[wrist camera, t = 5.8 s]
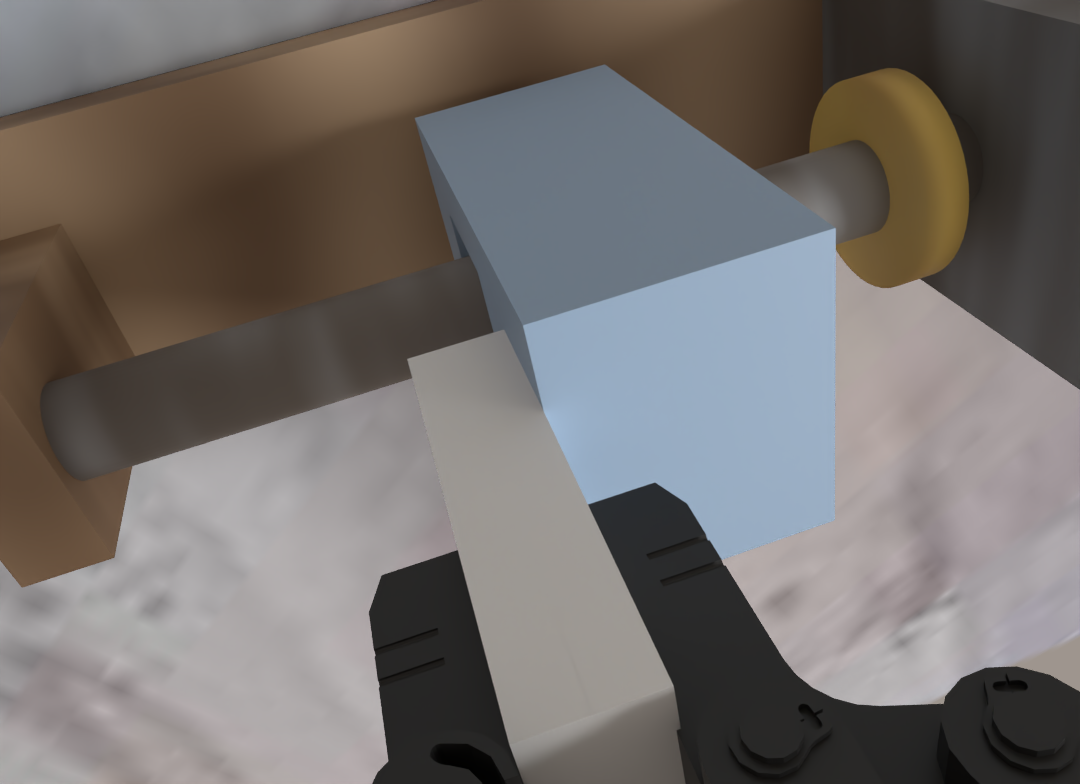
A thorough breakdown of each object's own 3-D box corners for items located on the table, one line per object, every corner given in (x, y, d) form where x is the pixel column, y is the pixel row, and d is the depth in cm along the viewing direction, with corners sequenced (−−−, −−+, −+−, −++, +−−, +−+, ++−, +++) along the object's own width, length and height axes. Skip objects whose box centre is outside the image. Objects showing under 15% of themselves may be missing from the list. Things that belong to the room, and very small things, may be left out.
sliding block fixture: (110, 443, 22) (21, 814, 14) (-80, 138, 18) (-381, 423, 9) (899, 198, 24) (1225, 391, 16) (915, -129, 20) (1383, -91, 12)
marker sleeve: (474, 329, 20) (590, 605, 13) (414, 118, 17) (522, 325, 10) (636, 278, 21) (834, 520, 14) (604, 64, 18) (835, 227, 11)
